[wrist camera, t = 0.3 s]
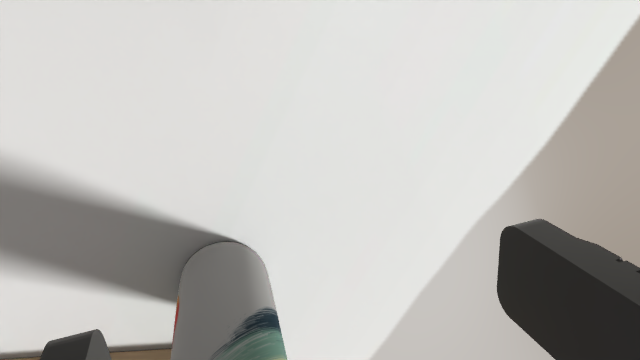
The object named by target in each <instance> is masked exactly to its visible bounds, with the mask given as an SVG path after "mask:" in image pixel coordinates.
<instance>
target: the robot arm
mask: <svg viewBox="0 0 640 360" xmlns="http://www.w3.org/2000/svg"><path fill="white" fill-rule="evenodd" d="M497 293H498V298H499V301H500V303H501V305H502V307H503V309H504V311H505V312H506V314H507V315H508V316H509V317H510V318H511V319H512V320H513V321H514V322H515V323H516V324H518V325H519V326H520V327H521V328H522V329H523V330H524V331H525V332H526V333H527V334H529V336H530V337H532V338H533V339H534V340H535V341H536V342H537V343H538V344H539V345H540V346H541V347H543V348H544V349H545V350H546V351H547V352H548V353H549V354H550V355H551V356H552V357H553V358H554V359H556V360H640V268H639V267H637V266H635V265H634V264H632V263H630V262H628V261H623V260H622V258H621V257H619V256H617V255H616V254H614V253H611V252H610V251H608V250H606V249H605V248H603V247H601V246H599V245H597V244H594V243H590V242H588V241H585V240H582V239H579V238H576V237H574V236H572V235H570V234H569V233H567V232H565V231H563V230H562V229H560V228H558V227H556V226H555V225H552V224H551V223H549V222H547V221H545V220H542V219H536V220H532V221H528V222H524V223H520V224H516V225H512V226H508V227H506V228H504V230H503V231H502V233H501V237H500V251H499V266H498V281H497ZM40 360H112V359H111V356H110V353H109V350H108V347H107V344H106V342H105V339H104V336H103V335H102V333H101V331H100V330H98V329H96V330H92V331H88V332H84V333H80V334H76V335H72V336H68V337H64V338H60V339H56V340H52V341H49V342H48V343H47V344H46V346H45V348H44V350H43V353H42V355H41V358H40Z"/></svg>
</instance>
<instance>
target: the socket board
mask: <svg viewBox="0 0 640 360" xmlns="http://www.w3.org/2000/svg"><path fill="white" fill-rule="evenodd" d="M171 351H172V349H160V350H144V351H128V352H112V353H110V356H111V359H112V360H170V359H171ZM40 358H41V357H33V358H18V359H2V360H40Z"/></svg>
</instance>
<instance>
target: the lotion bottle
mask: <svg viewBox="0 0 640 360" xmlns="http://www.w3.org/2000/svg"><path fill="white" fill-rule="evenodd" d="M170 360H287V356H286V352H285V347H284V343H283V338H282V334H281V329H280V325H279V320H278V316H277V311H276V307H275V302H274V298H273V293H272V289H271V285H270V280H269V276H268V273H267V270H266V267H265V264H264V262H263V261H262V259H261V258H260V256H259V255H258V254H257V253H256V252H255V251H253V250H252V249H251V248H249V247H247V246H245V245H242V244H239V243H235V242H219V243H214V244H211V245H208V246H206V247H204V248H202V249H200V250H199V251H197V252H196V253H195V254H194V255H193V256H192V257H191V258H190V259H189V260H188V262H187V263H186V265H185V267H184V269H183V271H182V275H181V278H180V284H179V291H178V299H177V307H176V316H175V325H174V333H173V342H172V351H171V359H170Z"/></svg>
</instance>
